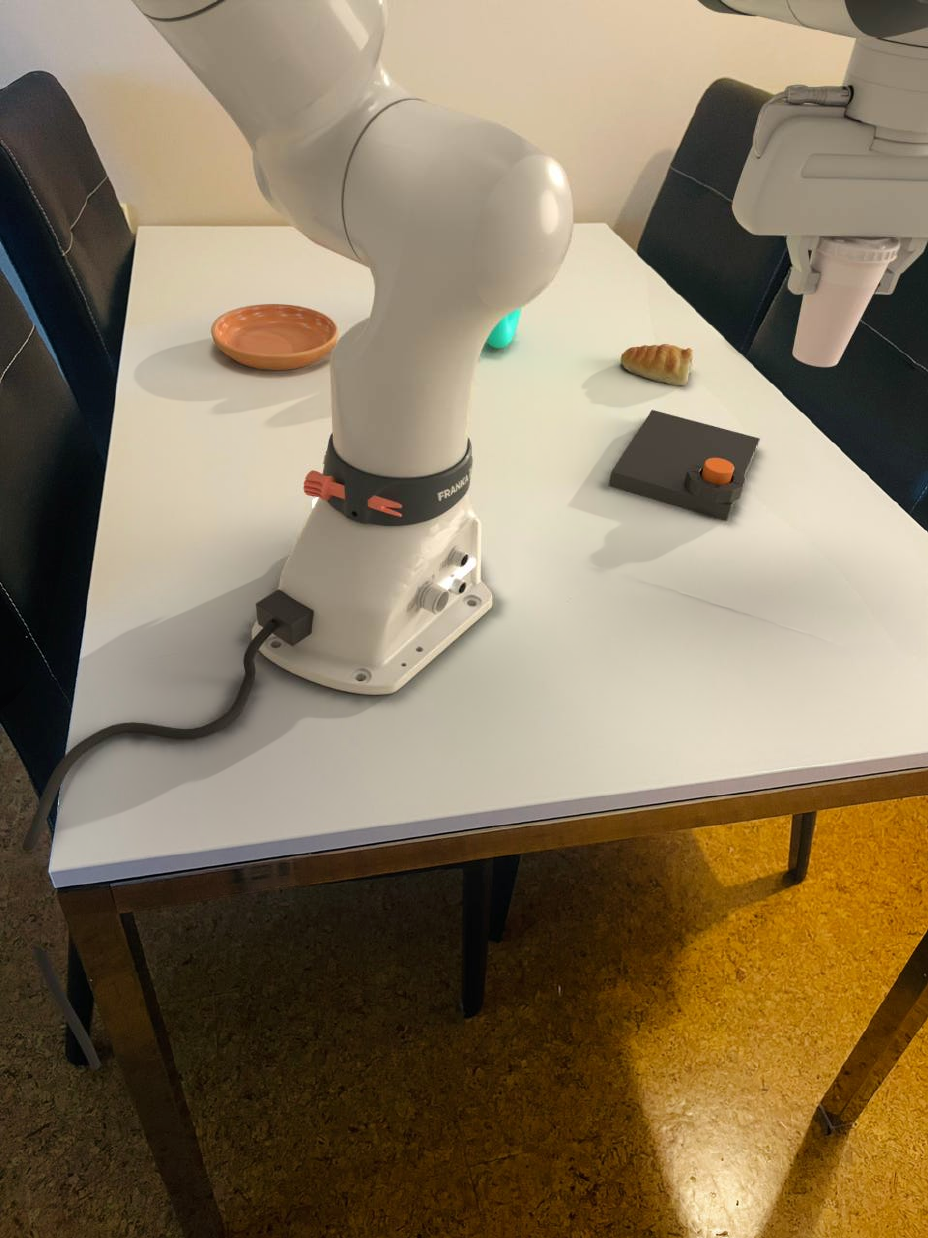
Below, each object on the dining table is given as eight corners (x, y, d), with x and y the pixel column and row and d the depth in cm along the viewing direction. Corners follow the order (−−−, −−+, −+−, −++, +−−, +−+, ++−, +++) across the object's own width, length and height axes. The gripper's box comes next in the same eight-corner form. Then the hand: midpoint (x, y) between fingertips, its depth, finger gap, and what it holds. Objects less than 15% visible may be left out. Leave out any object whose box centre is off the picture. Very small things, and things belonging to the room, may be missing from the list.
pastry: (615, 376, 117) (621, 348, 114) (623, 355, 122) (628, 328, 119) (687, 389, 115) (694, 361, 113) (691, 368, 120) (698, 341, 118)
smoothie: (859, 379, 70) (933, 191, 61) (777, 367, 71) (837, 179, 62) (850, 346, 75) (917, 166, 66) (773, 335, 76) (828, 155, 66)
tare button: (726, 488, 92) (730, 475, 91) (698, 480, 92) (702, 467, 91) (733, 475, 94) (736, 462, 93) (705, 467, 95) (708, 454, 94)
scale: (729, 524, 92) (738, 496, 90) (607, 488, 96) (612, 460, 94) (759, 453, 104) (768, 426, 101) (648, 423, 107) (654, 397, 105)
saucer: (349, 330, 122) (348, 309, 120) (323, 383, 110) (322, 360, 108) (234, 318, 122) (232, 297, 120) (196, 370, 110) (193, 347, 108)
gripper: (788, 93, 56) (730, 308, 65) (1070, 105, 59) (977, 308, 69) (748, 72, 61) (699, 275, 70) (1012, 84, 64) (932, 277, 73)
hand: (839, 291), depth 69 cm, fingers closed on smoothie, 5 cm apart
